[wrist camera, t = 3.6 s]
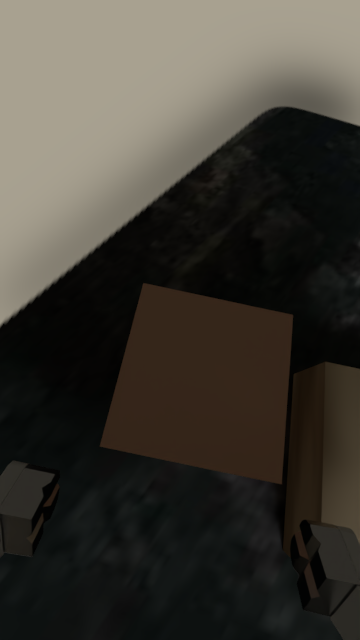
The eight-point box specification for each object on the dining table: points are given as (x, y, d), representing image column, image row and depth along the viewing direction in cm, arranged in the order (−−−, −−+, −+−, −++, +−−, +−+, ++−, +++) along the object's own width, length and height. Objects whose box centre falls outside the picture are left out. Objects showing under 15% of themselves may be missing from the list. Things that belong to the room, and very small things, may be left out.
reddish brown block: (235, 362, 20) (293, 315, 12) (222, 458, 18) (281, 484, 10) (147, 343, 20) (143, 282, 12) (125, 437, 18) (99, 446, 10)
